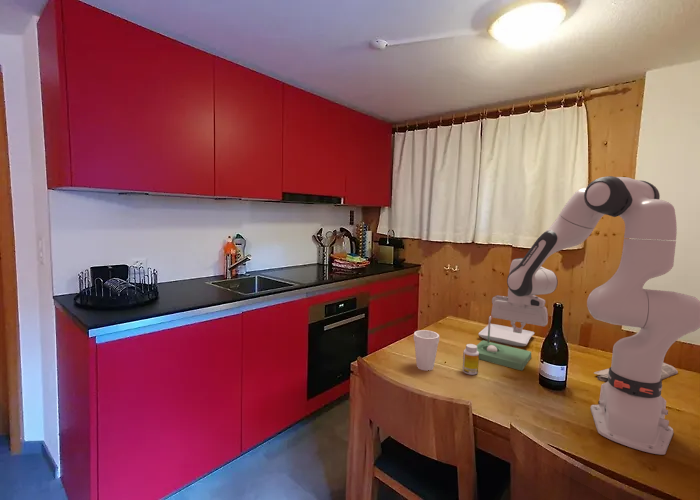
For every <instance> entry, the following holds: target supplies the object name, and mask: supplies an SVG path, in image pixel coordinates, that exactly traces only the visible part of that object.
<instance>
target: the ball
mask: <svg viewBox="0 0 700 500" xmlns="http://www.w3.org/2000/svg"><path fill="white" fill-rule="evenodd" d="M487 351H490V352H497V348H496V347H495V346H494V345H489V346H488V347H487Z"/></svg>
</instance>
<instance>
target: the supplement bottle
mask: <svg viewBox="0 0 700 500" xmlns="http://www.w3.org/2000/svg"><path fill="white" fill-rule="evenodd" d="M465 345H466V346H465V349H464V350H463V352H462V353H463V354H462V355H463V356H462V372H463V373H465V374H467V375H470V376H475V375H477V374H479V363H480V359H479V352H478V351H477V346H476V345H477V344H473V343H467V344H465Z"/></svg>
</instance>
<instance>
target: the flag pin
mask: <svg viewBox="0 0 700 500" xmlns="http://www.w3.org/2000/svg"><path fill="white" fill-rule="evenodd" d="M492 320H493V317H492V315H489V316H488V324H487V325H488V340H487V339H486V341H487V343H489V342H490V340H489V339H490V324H492V323H491V321H492Z"/></svg>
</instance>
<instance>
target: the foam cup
mask: <svg viewBox="0 0 700 500" xmlns="http://www.w3.org/2000/svg"><path fill="white" fill-rule="evenodd" d="M413 341H414V351H415V363H416V367H418V368H417V369H419V370H421V371H426V372H427V371H428V370H429V371H432V370H434V367H435V362H436V356H437V351H438V345H439V343H440V334H439V333H437V332H435V331H433V330H427V329H423V330H422V329H421V330H416V331H414V333H413Z"/></svg>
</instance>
